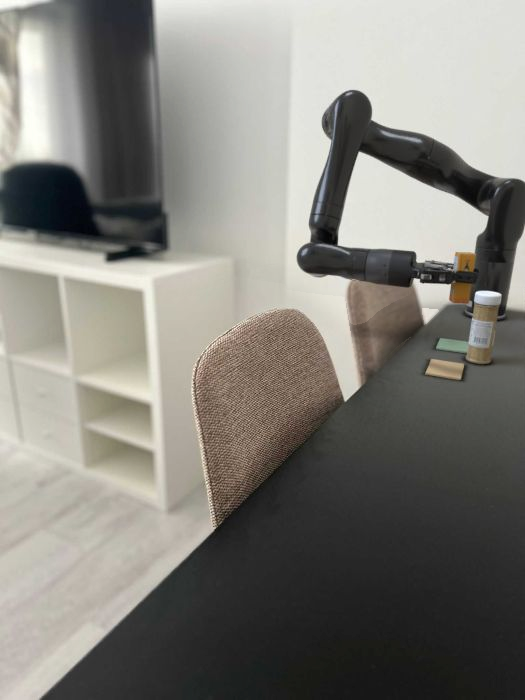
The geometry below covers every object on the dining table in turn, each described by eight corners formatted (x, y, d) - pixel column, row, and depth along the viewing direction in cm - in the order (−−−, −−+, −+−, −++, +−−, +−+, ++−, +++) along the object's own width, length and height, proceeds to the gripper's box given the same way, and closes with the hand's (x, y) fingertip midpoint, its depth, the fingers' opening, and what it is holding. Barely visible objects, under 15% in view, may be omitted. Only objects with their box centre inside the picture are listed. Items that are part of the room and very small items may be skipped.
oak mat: (431, 360, 99) (431, 358, 99) (464, 365, 96) (464, 363, 96) (425, 374, 92) (425, 372, 92) (460, 380, 90) (461, 378, 89)
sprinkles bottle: (494, 361, 99) (506, 293, 95) (484, 366, 96) (495, 296, 92) (471, 355, 102) (481, 288, 98) (460, 360, 99) (471, 292, 95)
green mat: (439, 339, 111) (440, 337, 111) (469, 343, 109) (469, 341, 109) (436, 349, 105) (436, 347, 105) (467, 353, 103) (467, 351, 103)
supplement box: (464, 300, 105) (472, 251, 102) (468, 304, 102) (477, 254, 99) (447, 299, 106) (455, 250, 102) (451, 303, 103) (459, 253, 99)
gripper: (385, 254, 100) (479, 262, 94) (398, 245, 112) (482, 252, 106) (381, 291, 103) (472, 302, 96) (395, 279, 115) (476, 288, 108)
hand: (477, 276), depth 101 cm, fingers closed on supplement box, 3 cm apart
